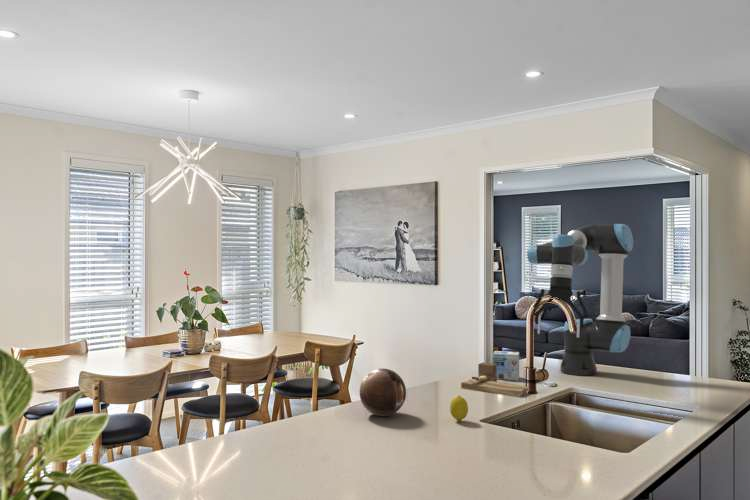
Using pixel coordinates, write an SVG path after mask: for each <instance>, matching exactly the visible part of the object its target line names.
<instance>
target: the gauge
mask: <svg viewBox="0 0 750 500" xmlns="http://www.w3.org/2000/svg"><path fill="white" fill-rule="evenodd" d="M477 367H478V373H477V374H478V375H477V377H476V376H471V379H472V380H471V383H475V384H476V383H478V382H481V381H484V380H488V381H495V382H498V379H497V364H493V363H491V362H490V363H489V362H480V363H478V366H477Z"/></svg>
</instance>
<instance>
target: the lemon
mask: <svg viewBox="0 0 750 500" xmlns="http://www.w3.org/2000/svg"><path fill="white" fill-rule="evenodd" d="M449 411H450V415H451V416H452V418H453V419H455V420H456V421H457V422H461V421H462V420H463V419H466V417H467V416H468V412H469V405H468V402H467V400H466V399H465V398H464V397H462V396H461V395H457V396H456V397H454V398H453V399H452V400H451V401H450V406H449Z"/></svg>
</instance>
